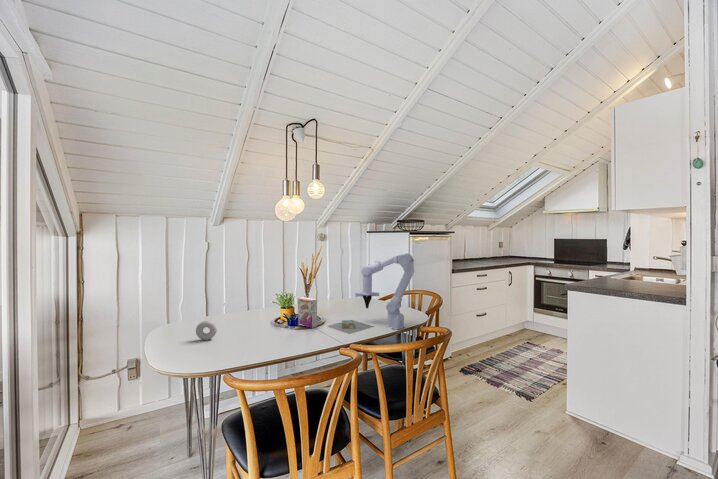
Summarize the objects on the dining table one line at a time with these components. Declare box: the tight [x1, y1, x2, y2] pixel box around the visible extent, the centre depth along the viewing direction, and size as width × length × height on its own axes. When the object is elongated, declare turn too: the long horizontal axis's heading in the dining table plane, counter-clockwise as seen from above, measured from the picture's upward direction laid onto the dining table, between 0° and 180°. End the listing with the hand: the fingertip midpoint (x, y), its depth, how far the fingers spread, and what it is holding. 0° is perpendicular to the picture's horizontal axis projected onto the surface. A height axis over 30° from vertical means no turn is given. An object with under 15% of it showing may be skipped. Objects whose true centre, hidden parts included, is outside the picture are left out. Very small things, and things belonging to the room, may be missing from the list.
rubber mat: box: [326, 320, 375, 335], centre depth 196 cm, size 20×20×1 cm
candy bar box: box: [297, 296, 318, 329], centre depth 198 cm, size 11×5×16 cm, turn 58°
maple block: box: [341, 319, 355, 329], centre depth 195 cm, size 3×6×7 cm
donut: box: [195, 320, 218, 341], centre depth 173 cm, size 10×4×10 cm, turn 104°
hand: (367, 307), depth 204 cm, fingers closed
